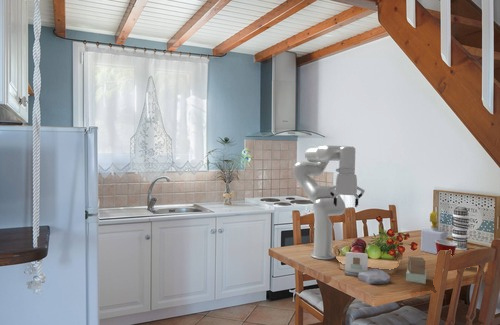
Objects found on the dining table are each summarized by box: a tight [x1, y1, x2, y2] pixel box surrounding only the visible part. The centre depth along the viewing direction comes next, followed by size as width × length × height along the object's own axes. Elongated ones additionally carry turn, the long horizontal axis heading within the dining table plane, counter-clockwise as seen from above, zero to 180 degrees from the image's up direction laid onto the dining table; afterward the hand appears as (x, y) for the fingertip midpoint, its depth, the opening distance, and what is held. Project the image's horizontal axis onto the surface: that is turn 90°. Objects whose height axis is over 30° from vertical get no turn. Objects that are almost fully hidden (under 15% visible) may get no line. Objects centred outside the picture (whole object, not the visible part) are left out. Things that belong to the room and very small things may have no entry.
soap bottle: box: [420, 211, 448, 256], centre depth 226 cm, size 12×7×23 cm, turn 37°
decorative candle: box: [451, 206, 470, 251], centre depth 238 cm, size 9×9×25 cm
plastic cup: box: [435, 239, 458, 257], centre depth 203 cm, size 11×11×12 cm
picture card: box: [344, 251, 369, 277], centre depth 184 cm, size 6×10×10 cm, turn 74°
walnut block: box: [407, 256, 426, 274], centre depth 178 cm, size 6×6×6 cm
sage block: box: [405, 268, 427, 285], centre depth 178 cm, size 8×8×4 cm
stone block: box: [357, 268, 391, 285], centre depth 175 cm, size 12×5×10 cm
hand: (345, 206), depth 193 cm, fingers open, 9 cm apart
